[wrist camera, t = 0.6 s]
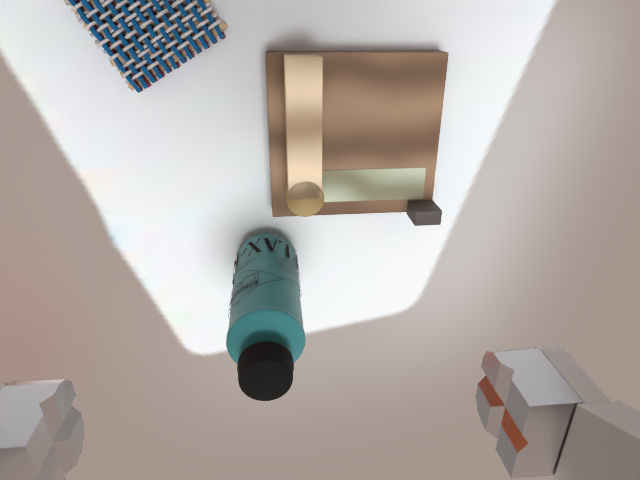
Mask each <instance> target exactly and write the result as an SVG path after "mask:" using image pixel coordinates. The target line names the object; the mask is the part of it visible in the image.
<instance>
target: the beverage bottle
mask: <svg viewBox="0 0 640 480" xmlns="http://www.w3.org/2000/svg"><path fill="white" fill-rule="evenodd" d="M290 244H291V243H290V242H289V241H287V240H286V239H284V238H283V237H281V236H279V235H276V234H271V233H263V234H258V235H255V236H253V237H251V238H249V239H248V240H246V242H245V243H244V244H243V245H242V246H241V247H239V248H240V249H239V251H238V252H237V253H238V254H236V255H237V260H236V261H235V263H234V264H235V265H236V268H234V269H235V275H234V273H233V277H234V279H233V284H234V285H233V288H232V289H233V294H232V293H231V295H232V299H231V302H230V303H231V310H230V309H229V310H230V318H229V319H230V322H229V330H228V333H227V340H226V344H227V350H228V352H229V354H230V356H231V358H232V359H233V360H234V361H235V362H236V363H237V364H238V365H237V366H238V367H237V370H238V381H239V386H240V388H241V390H242V391H243V392H244V393H245V394H246V395H247V396H248V397H250V398H252V399H255V400H260V401H270V400H274V399H277V398H279V397H281V396H282V395H284V394H285V393H286V392H287V391H288V390H289V389H290V387H291V384H292V381H293V370H294V362H295V361H296V360H297V359H298V358H299V357H300V355H301V353H302V351H303V349H304V346H305V333H304V329H303V321H302V312H301V303H300V297H301V296H300V289H301V287H299V284H300V283H299V282H300V281H299V280H298V276H299V275H298V271H297V269H298V266H299V265H298V263H297V256H296V255H297V254H295V251H296V250H295V251H294V249H295V248H293V247H292V246H293V245H292V244H291V245H292V246H291V245H290ZM235 257H236V256H235ZM299 288H300V289H299ZM301 292H302V291H301ZM230 298H231V297H230ZM228 316H229V315H228Z"/></svg>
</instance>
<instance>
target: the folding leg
mask: <svg viewBox="0 0 640 480" xmlns="http://www.w3.org/2000/svg"><path fill="white" fill-rule="evenodd" d="M284 89H285V124H286V159H287V182H286V185H285V191H286V200H287V205H288V207H289V209H290V210H291V211H292V212H293V213H294V214H296V215H298V216H303V217H307V216H311V215H314V214H316V213H317V212H318V211H319V210H320V209H321V208H322V206H323V203H324V194H323V191H322V89H323V57H322V56H321V55H319V54H284Z"/></svg>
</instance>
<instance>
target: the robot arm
mask: <svg viewBox="0 0 640 480" xmlns="http://www.w3.org/2000/svg"><path fill="white" fill-rule="evenodd" d="M481 367H482V369H483V371H484V372H485V374H486V376H485V377H484V378H483V379H482V380H481V381H480V382H479V383H478V387H477V394H476V401H477V409H478V413H479V416H480V419H481V422H482V423H483V426H484V428H485V430H486V431H487V432H489V433H490V434H492V435H493V436H495V437H496V438H497V439H498V440H497V445H496V451H497V453H498V454H499V456H500V458H501V460H502V462H503V464H504V466H505V468H506V469H507V471H508V473H509V475H510V477H511V478H518V477H519V478H520V477H536V476H549V475H555V476H554V478H555V479H556V480H640V411H638V410H636V409H634V408H632V407H630V406H628V405H626V404H624V403H622V402H620V401H611V400H610V399H609V398H608V397H607V396H606V395H605V394H604V392H603V391H602V390H601V389H600V388H599V387H598V386H597V385H596V383H595V382H594V381H593V380H592V379H591V378H590V377H589V376H588V375H587V373H586V372H585V371H584V370H583V369H582V368H581V367H580V366H579V365H578V363H577V362H576V361H575V360H574V359H573V358H572V357H571V355H570V354H569V353H568V352H567V351H566V350H565V349H564V348H562V347H560V346H559V345H553V346H542V347H534V348H524V349H510V350H496V351H487V352H486V354H485V355H484V357H483V361H482V365H481ZM75 396H76V394H75V391H74V388H73V385H72V382H70V381H69V380H66V379H59V380H37V381H13V382H2V383H0V480H65V476H64V475H65V474H66V473H67V472H68V471H70V470H71V469H72V468H73V467H74V466H75V465H76V464H77V462H78V459H79V457H80V454H81V451H82V447H83V440H84V423H83V419H82V415H81V412H79V411H78V410H77V409H75V408H74V407H73V406H71V404H72V402H73V400H74V398H75Z"/></svg>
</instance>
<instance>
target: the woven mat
mask: <svg viewBox="0 0 640 480" xmlns="http://www.w3.org/2000/svg"><path fill="white" fill-rule="evenodd" d="M80 1H81V2H80ZM80 1H79V0H65V2H66V5H73V6H74V7H73V8H72V9H71V10H72V11H73V12H74V11H75V10H77V11H76V12H75V14H76V15H77V16H76V17H77V19H79V18H81V19H80V20H78V22H79V23H82V22H83V25H84V28H85V29H86V30H88V31H89V30H90V31H91V32H92V33H91V34H90V35H91V36H92V37H93V36H95V37H96V38H97V39H98V40H96V41H95V44H97V46H98V48H99V47H100V46H103V48H104V51H103V52H104V53H108V54H109V55H110V56H111V57H110V58H109V60H110V62H111V65H112V66H115V67H116V68H117V67H118V69H117V70H118V72H119V71H120V70H121V72H120V74H121V76H122V78H124V77H126V79H127V81H125V82H126V83H127V84H128V87H129V88H130V89H131V90H134V89H136V91H137V92H141V91H143V90H142V88H141V87H140V85H141V84H142V86H143V87H144V88H145V89H146V88H147V87H150V86H151V84H150V83H149V82H148V80H149V79H150V80H151V82H152V83H155V82H156V81H158V80H157V79H156V77H155V75H157V76H158V78H159V79H161V78H162V77H164V74H163V72H162V71H163V70H166V72H167V73H170V72H171V71H172V70H171V68H170V67H169V66H171V65H172V66H173V68H174V69H176V68H179V67H180V65H179V63H178V60H180V61H181V62H182V63H185V62H187V61H186V59H185V58H184V57H185V56H186V55H187V56H188V57H189V59H192V58H193V57H195V56H194V55H193V53H192V51H194V50H196V52H197V53H198V54H199V53H200V52H202V51H201V49H200V48H199V47H200V46H201V45H203V47H204V49H207V48H209V45H208V43H207V41H209V40H211V41H212V43H213V44H215V43H216V42H217V40H216V39H215V36H217V35H219V37H220V39H224V38H226V37H225V35H224V33H223V31H224V30H225V29H226V28H227V25H226V23H225V22H223V21H222V22H221V21H220V19H219V20H217V21H216V20H215V19H214V18H215V17H216V16H217V14H216V13H214V11H213V10H212V9H213V8H212V6H210V3H209V2H210V1H211V0H195V1H192V0H173V1H171V2H170V1H169V0H162V1H161V2H159V1H160V0H139V1H136V0H116V2H115V3H114V2H113V1H114V0H80ZM104 1H105V2H104ZM185 2H186V3H187V4H188V5H187V6H186V7H184V5H183V4H184V3H185ZM129 3H130V4H131V6H130V7H128V6H127V5H128V4H129ZM163 4H165V6H164V7H162V5H163ZM83 5H84V6H83ZM106 5H108V8H107V7H106ZM153 5H154V7H153V8H151V7H152V6H153ZM208 6H210V7H209V8H207V7H208ZM133 8H134V9H133ZM176 8H179V10H180V11H179V12H176V11H175V9H176ZM121 9H122V11H123V12H120V11H119V10H121ZM156 9H157V10H158V11H156V12H154V11H155V10H156ZM202 10H203V12H201V13H199V12H200V11H202ZM98 11H100V13H98ZM145 11H147V12H145ZM143 12H145V13H143ZM169 13H171V14H172V16H171V17H170V18H169V17H168V15H167V14H169ZM113 14H114V15H115V17H114V18H113V17H112V15H113ZM147 15H149V17H148V18H147V17H146V16H147ZM91 16H92V17H93V18H92V19H91V18H90V17H91ZM137 16H138V17H137ZM193 16H195V17H194V18H191V17H193ZM136 17H137V18H136ZM161 18H163V20H164V22H161V21H160V19H161ZM104 20H106V21H107V23H106V22H105V21H104ZM139 20H142V21H140V22H139ZM130 21H131V22H130ZM185 21H188V22H187V23H185V24H184V22H185ZM209 21H210V22H211V25H210V26H207V24H206V23H207V22H209ZM129 22H130V23H129ZM154 23H155V24H156V25H157V26H156V27H155V28H153V26H152V25H153V24H154ZM97 25H99V26H100V27H99V28H97ZM132 25H133V27H132V28H131V27H130V26H132ZM178 26H179V28H178V29H176V27H178ZM201 26H202V28H203V29H204V30H202V31H200V30H199V28H200V27H201ZM121 27H122V28H121ZM146 28H147V29H148V31H149V32H148V33H147V32H146V30H145V29H146ZM210 29H211V30H210ZM124 30H126V33H124V32H123V31H124ZM170 31H172V33H169V32H170ZM114 32H115V33H114ZM193 32H194V33H195V34H196V35H195V36H193V37H192V35H191V33H193ZM204 33H205V34H204ZM117 34H118V36H119V38H118V39H117V38H116V35H117ZM138 34H140V35H141V37H140V38H138V37H137V35H138ZM161 37H164V38H163V39H161ZM185 37H186V38H187V41H186V42H185V41H184V38H185ZM130 39H132V41H133V43H131V42H130V41H129V40H130ZM195 39H196V40H195ZM109 40H110V41H111V42H112V43H111V44H109V43H108V41H109ZM155 41H156V43H155V44H154V42H155ZM176 43H179V44H180V46H178V47H177V45H176ZM189 43H190V44H189ZM122 44H124V45H125V46H126V47H125V48H123V47H122ZM187 44H188V45H187ZM147 47H148V48H147ZM170 47H171V49H172V51H170V50H169V49H168V48H170ZM181 48H182V49H181ZM114 49H117V51H118V53H117V52H116V51H115V50H114ZM180 49H181V50H180ZM140 52H141V53H140ZM162 52H163V53H164V54H165V56H163V57H162V55H161V53H162ZM138 53H140V54H138ZM155 57H156V59H157V61H155V59H154V58H155ZM146 63H148V64H149V66H147V65H146ZM157 64H158V65H157ZM139 67H141V69H142V71H140V70H139V69H138V68H139ZM151 68H152V69H151ZM132 72H133V73H134V74H135V75H134V76H133V75H132V74H131V73H132ZM137 77H138V78H137ZM136 78H137V79H136Z"/></svg>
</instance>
